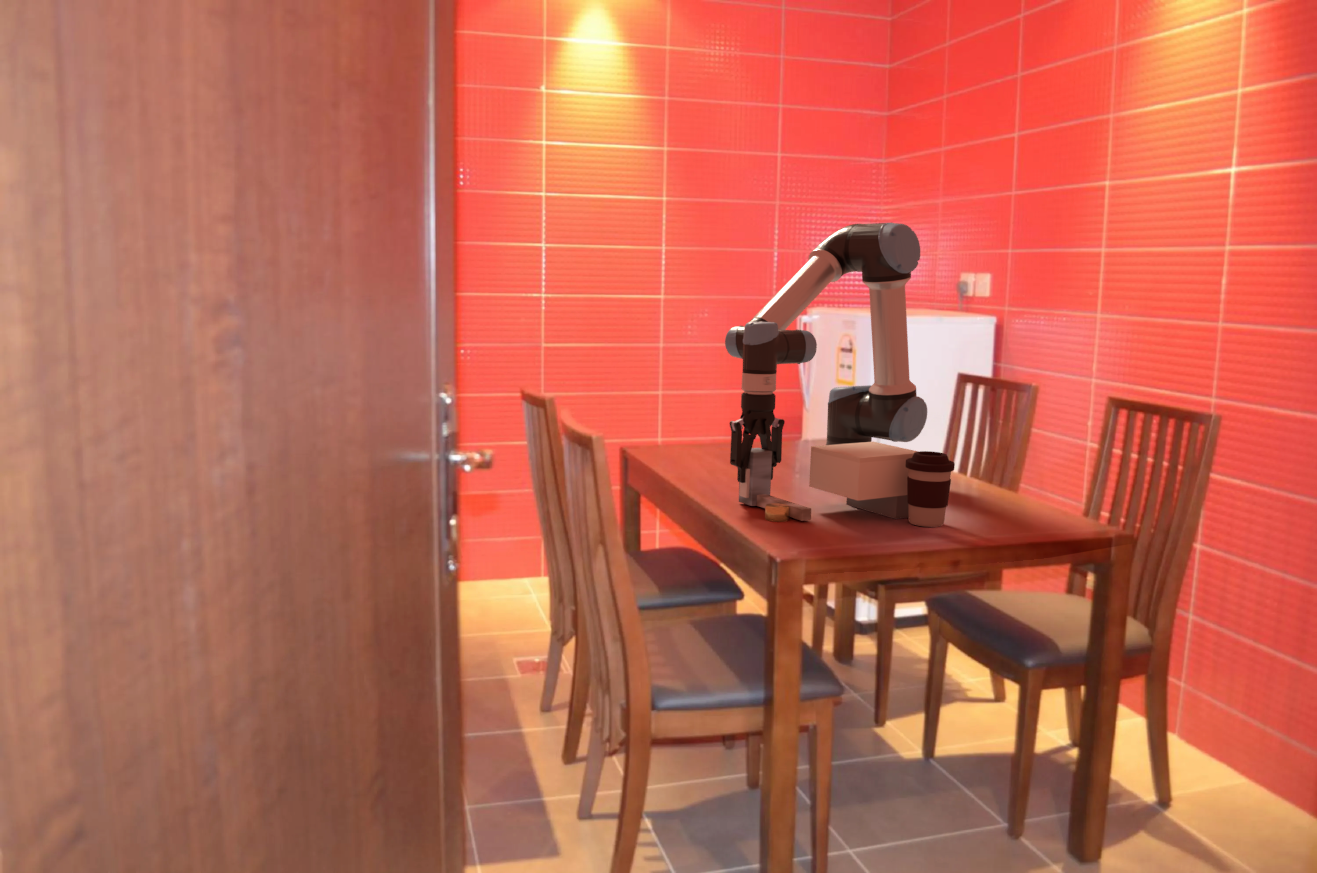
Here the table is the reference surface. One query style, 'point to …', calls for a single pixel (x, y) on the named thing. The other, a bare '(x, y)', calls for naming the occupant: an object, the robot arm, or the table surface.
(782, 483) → the table surface
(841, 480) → the beige grey overhanging block
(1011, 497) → the table surface
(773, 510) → the cylinder
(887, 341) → the robot arm
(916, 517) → the coffee cup
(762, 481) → the grey l-shaped bracket
